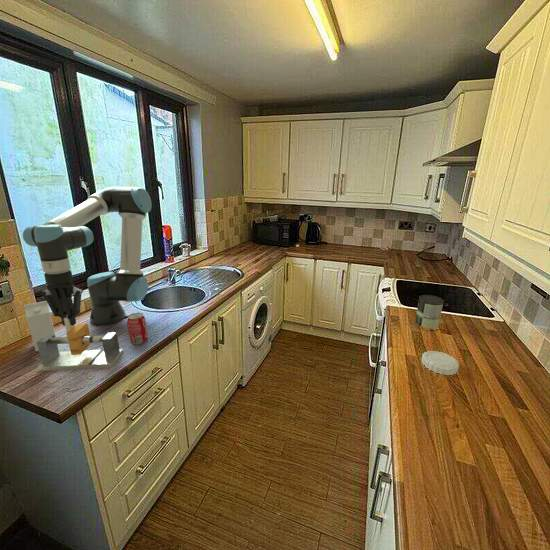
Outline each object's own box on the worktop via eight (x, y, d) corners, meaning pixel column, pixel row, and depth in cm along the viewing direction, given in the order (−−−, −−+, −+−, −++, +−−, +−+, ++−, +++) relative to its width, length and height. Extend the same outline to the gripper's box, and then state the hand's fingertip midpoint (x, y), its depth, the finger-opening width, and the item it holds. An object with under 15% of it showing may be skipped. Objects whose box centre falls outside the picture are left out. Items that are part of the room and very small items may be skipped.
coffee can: (410, 324, 138) (414, 297, 134) (421, 319, 144) (426, 293, 140) (431, 333, 130) (436, 304, 126) (442, 327, 136) (448, 299, 131)
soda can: (143, 335, 126) (139, 310, 122) (151, 340, 122) (148, 315, 118) (127, 341, 121) (122, 316, 117) (135, 347, 116) (130, 321, 113)
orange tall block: (71, 355, 102) (66, 333, 99) (83, 343, 109) (78, 323, 107) (80, 354, 102) (75, 332, 100) (91, 343, 110) (87, 322, 107)
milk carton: (35, 344, 118) (23, 302, 112) (56, 339, 122) (46, 298, 117) (35, 351, 113) (23, 308, 107) (57, 345, 117) (47, 303, 112)
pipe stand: (38, 370, 101) (31, 345, 98) (56, 355, 111) (50, 331, 108) (111, 367, 104) (107, 342, 101) (123, 351, 113) (119, 328, 110)
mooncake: (454, 361, 109) (455, 353, 108) (460, 380, 99) (462, 371, 98) (419, 354, 113) (421, 346, 112) (422, 372, 103) (423, 363, 102)
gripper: (29, 274, 93) (45, 338, 100) (71, 274, 94) (84, 337, 101) (44, 268, 100) (59, 328, 107) (83, 267, 101) (95, 327, 108)
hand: (71, 332), depth 104 cm, fingers closed
